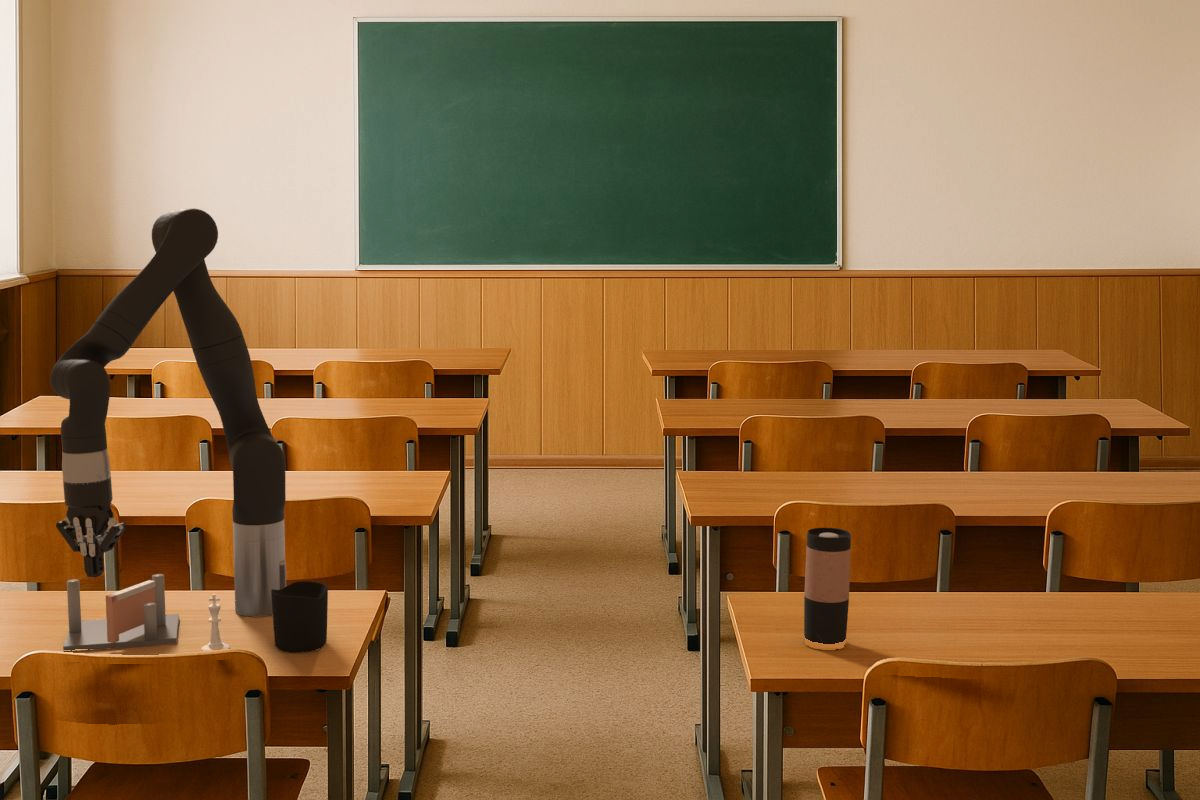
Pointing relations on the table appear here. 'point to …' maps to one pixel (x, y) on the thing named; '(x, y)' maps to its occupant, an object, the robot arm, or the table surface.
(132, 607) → the gate
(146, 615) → the gate frame
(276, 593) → the pen holder
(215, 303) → the robot arm
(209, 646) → the chess piece
